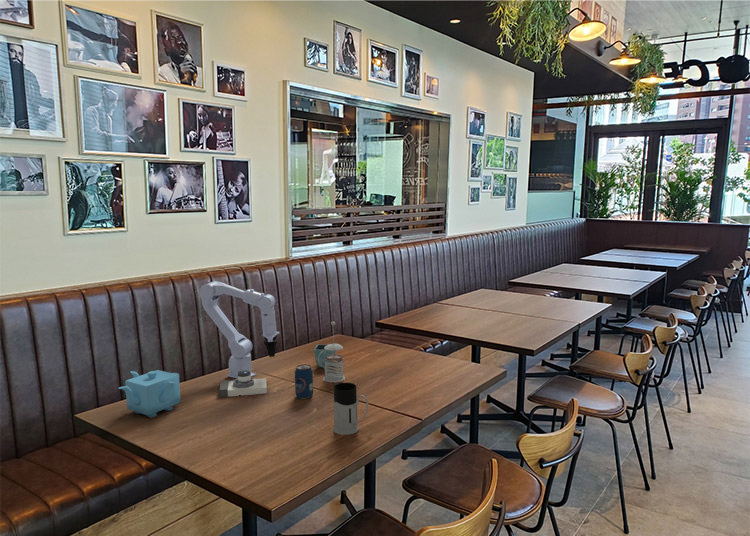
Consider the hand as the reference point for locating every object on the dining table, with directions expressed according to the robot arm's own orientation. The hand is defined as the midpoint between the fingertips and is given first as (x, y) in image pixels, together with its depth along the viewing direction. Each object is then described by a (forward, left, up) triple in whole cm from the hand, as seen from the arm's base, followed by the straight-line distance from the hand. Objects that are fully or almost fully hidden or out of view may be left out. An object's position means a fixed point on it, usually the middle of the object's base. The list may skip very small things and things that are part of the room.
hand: (272, 354), depth 233 cm
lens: (+1, -17, -8) cm, 19 cm away
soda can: (+26, -9, -11) cm, 29 cm away
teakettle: (-12, -50, -11) cm, 53 cm away
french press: (+23, +13, -11) cm, 28 cm away
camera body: (+1, -17, -11) cm, 20 cm away
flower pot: (+10, +25, -11) cm, 28 cm away
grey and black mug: (+60, -25, -11) cm, 66 cm away
